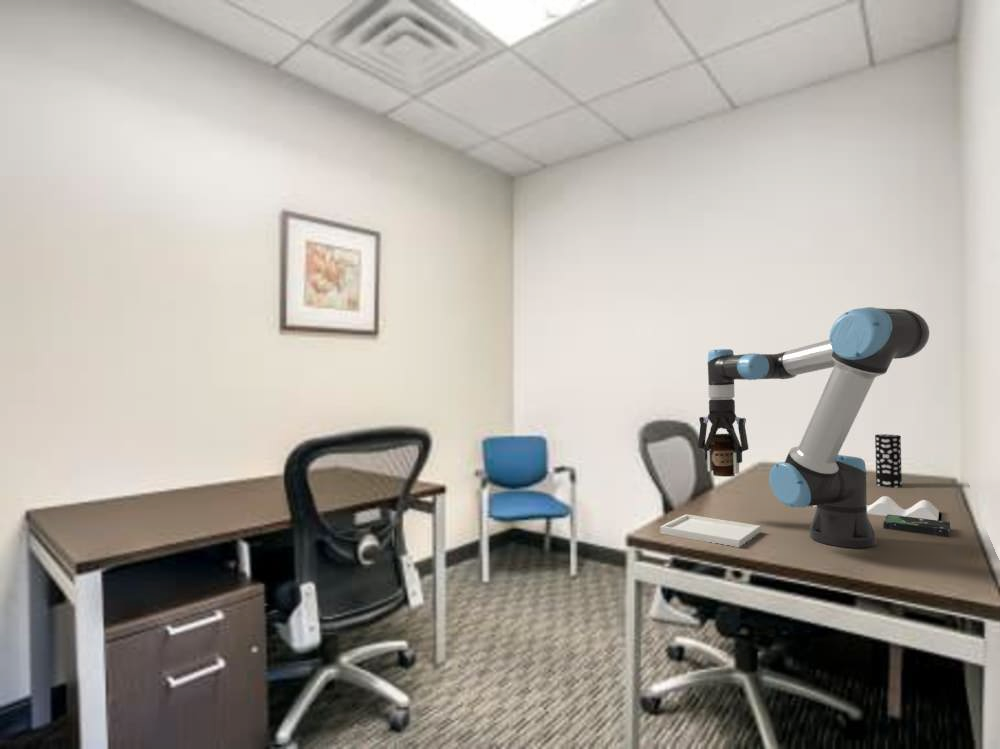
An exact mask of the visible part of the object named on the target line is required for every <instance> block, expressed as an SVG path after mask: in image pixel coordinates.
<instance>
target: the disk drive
mask: <svg viewBox="0 0 1000 749" xmlns="http://www.w3.org/2000/svg"><path fill="white" fill-rule="evenodd" d="M884 517H885V519H884V520H883V523H882V528H883V529H885V530H891V531H892V530H893V531H897V532H898V531H900V532H907V533H913V534H914V533H915V534H921V535H928V536H935V537H942V538H943V537H944V538H949V537H950V531H951V522H950V521H945V520H941V521H937V520H929V519H922V518H914V517H904V516H898V515H889V514H888V515H887V516H884Z"/></svg>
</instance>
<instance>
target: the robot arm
mask: <svg viewBox="0 0 1000 749" xmlns="http://www.w3.org/2000/svg"><path fill="white" fill-rule="evenodd" d="M929 328H930V327H929V325H928V323H927V321H926V320H925V319H924V318H923V317H922V315H920V314H918V313H917V312H915V311H912V310H910V309H903V308H902V309H901V308H881V307H880V308H879V307H874V306H873V307H871V306H870V307H869V306H867V307H861V308H860V307H859V308H854V309H851V310H848V311H846V312H844V313H842V315H840V316H839V317H838V318H837V319H836V320H835V321H834V323H833V324H832V327H831V328H830V332H829V339H828V340H824V341H820V342H815V343H811V344H808V345H804V346H801V347H797V348H793V349H789V350H787V351H783V352H779V353H774V354H773V353H770V354H769V353H768V354H767V353H764V354H763V353H753V352H752V353H751V352H750V353H745V354H744V353H743V354H734V350H732V349H731V348H730V349H729V348H725V349H724V348H722V349H711V350H709V351H708V354H707V378H708V380H707V381H708V398H709V400H708V415H707V416H701V417H699V418H698V420H699V424H700V425H699V426H700V427H699V435H698V444H697V446H698V448H699V449H702V450H703V451H704V452H703V453H704V454H703V455H704V460H705V461H707V472H713V469H712V459H711V450H710V441H709V438H711V436H712V435H713V434H717V432H718V430H719V429H723V430H726V432H727V434H729V436H733V437H732V439H733V440H734V444H733V445H734V448H735V450H736V451H735V452H734V453H733V462H734V474H735V475H738V474H740V464H741V463H742V462H743V452H746V451H748V450H749V443H748V436H747V431H746V423H747V422H746V421H747V419H746V418H745V417H739V416H737V415H736V404H735V400H734V398H735V380H748V381H752V380H753V381H755V380H757V381H758V380H776V379H777V380H778V379H779V380H788V379H792V378H796V376H798V375H803V374H806V373H811V372H817V371H821V370H825V369H831V368H833V369H832V370H831V372H830V374H829V377H828V380H827V381H826V384H825V385H824V386H825V387H824V389H823V390H822V393H821V395H820V397H819V400H818V403H817V404H816V407H815V409H814V411H813V414H812V416H811V418H810V420H809V423H808V425H807V427H806V429H805V432H804V433H803V436H802V438H801V441H800V443H799V445H796V446H794V447H791V448H790V449H789V451H788V454H787V456H786V457H785V460H784V462H783V461H781V462H778V463H777V464H775V465H773V467H771V469H770V471H769V477H768V480H769V486H770V487H771V491H772V493H773V495H774V496H775V498H776V499H777V500H778V501H779V502H781V503H782V504H783V505H785V506H787V507H790V508H801V509H803V508H807V507H810V506H814V505H817V508H816V510H815V511H814V512H815V513H814V515H813V518H812V521H811V523H810V527H809V537H810V538H811V540H814V541H817V542H818V543H823V544H824V545H830V546H835V547H842V548H849V549H850V548H853V549H862V548H863V549H865V548H871V547H874V546H875V545H876V544H877V543H876V542H877V541H876V540H877V539H876V533H875V531H874V529H873V526H872V523H871V521H870V520H871V519H870V518H869V516H868V515H869V514H867V505H868V503H867V494H868V493H867V474H868V471H867V468H866V462H865V460H864V459H863V458H861V457H858V456H851V455H850V456H849V455H845V454H843V455H842V454H840V451H841V449H842V447H843V445H844V443H845V441H846V439H847V437H848V436H849V432H850V430H851V428H852V427H853V424H854V422H855V420H856V418H857V416H858V414H859V412H860V409H861V408H862V405H863V403H864V401H865V400H866V398H867V395H868V393H869V390H870V389H871V387H872V385H873V383H874V380H875V378H876V377H879V376H883V375H885V374H886V373H887V372H888V370H889V368H890V365H891V364H892V361H893V360H896V359H905V358H910V357H912V356H915V355H916V354H918V353H919V352H921V351H922V350H923V349H924V348H925V347H926V345H927V343H928V342H929V338H930V329H929ZM709 422H710V423H711V426H710V430H709V434H708V436H707V428H708V423H709ZM735 422H736V424H737V427H738V433H739V438H738V436H737V433H736V431H735V427H734V423H735ZM711 434H712V435H711Z"/></svg>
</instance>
